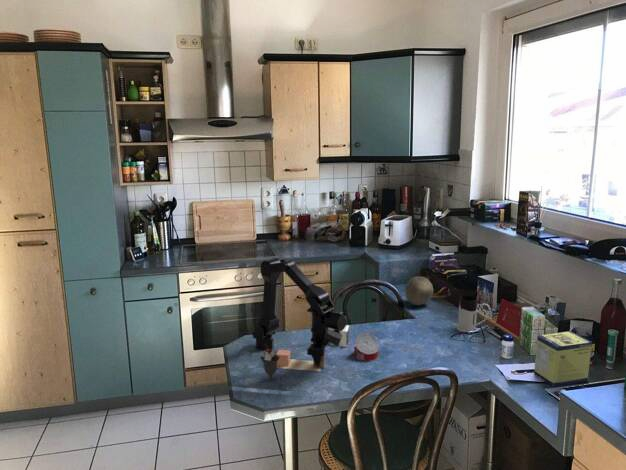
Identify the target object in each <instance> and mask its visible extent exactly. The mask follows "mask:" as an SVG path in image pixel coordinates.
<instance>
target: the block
mask: <svg viewBox="0 0 626 470" xmlns="http://www.w3.org/2000/svg"><path fill="white" fill-rule="evenodd" d="M276 354H277V355H278V356H279V360H278V361H277V366H288V365H289V363H290V359H291V350H289V349H288V350H287V349H278V351H277V352H276Z"/></svg>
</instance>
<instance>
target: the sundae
mask: <svg viewBox="0 0 626 470" xmlns="http://www.w3.org/2000/svg"><path fill="white" fill-rule="evenodd" d="M265 345H266V344H265ZM266 346H267V345H266ZM260 360H261V361H262V363H263V369H264V372H265V374H266V375H268V382H273V381H274V380H273V375H274V374H275V373H276V372H277V369H278V368H277V361H278V360H279V356H278V355H277V353H275V351H273V349H271V350H270V349H268V346H267V349H266V350H264V352H263V355H261V357H260Z"/></svg>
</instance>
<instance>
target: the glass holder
mask: <svg viewBox="0 0 626 470" xmlns="http://www.w3.org/2000/svg"><path fill="white" fill-rule="evenodd" d="M458 304H459V305H458V319H457V320H458V321H457V326H456V330H457V331H459V332H462V333H465V332H468V331H471V330H475V329H476V330H477V326H478V325H480V324H481V323H483V322H485V321H486V320H487V319H488V318H489V317H490V314H491V312H490V311H491V307H490V305H489V304H488V303H482V304H481V305H480V306H479V310H478V309H477V307H478V306H477V305H478V297H476V296H474V295H470V294H469V295H467V294H465V295H464V294H463V295H461V296H460V297H459V303H458ZM483 305H485V306H487V308H488V314H487V316H486V318H484V319H483V320H482V321H480V322H478V323H477V313H480V312H481V310H482V306H483Z"/></svg>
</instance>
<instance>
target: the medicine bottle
mask: <svg viewBox="0 0 626 470" xmlns="http://www.w3.org/2000/svg"><path fill="white" fill-rule="evenodd" d="M345 318H346V325H345V328H344V329H343V330H342V331H340V334H341V333H342V338H341V341H340V343H339V347H341V348H347V347H348V344H349V342H350V341H349V340H350V325H348V318H347V316H345ZM330 330H334V329H331V328H330ZM329 344H330V346H335V345H334V344H332V343H330V342H329Z"/></svg>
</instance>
